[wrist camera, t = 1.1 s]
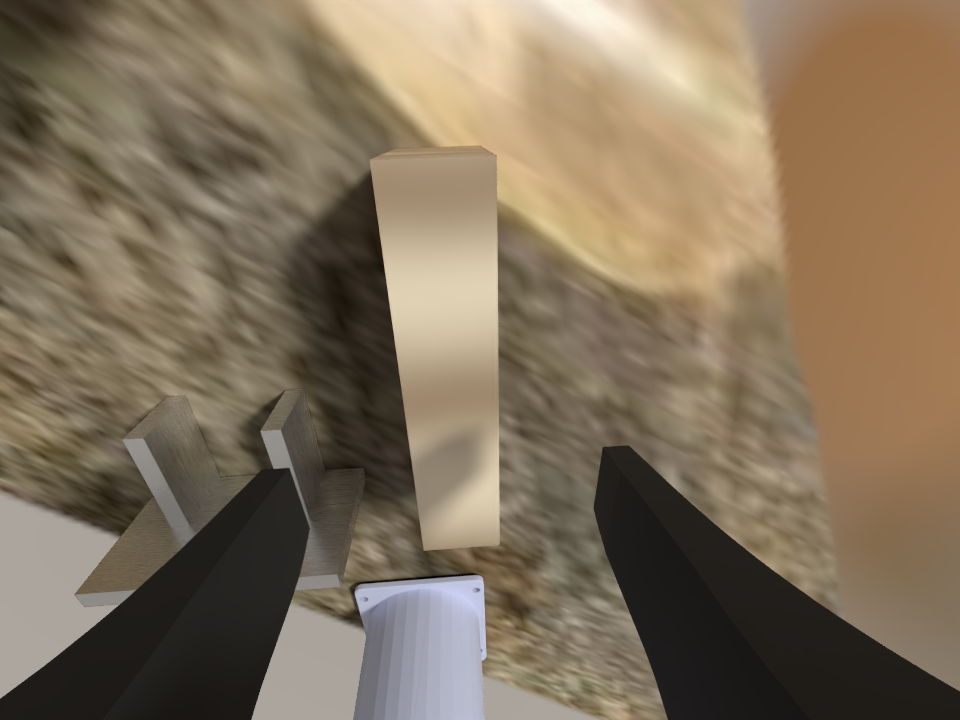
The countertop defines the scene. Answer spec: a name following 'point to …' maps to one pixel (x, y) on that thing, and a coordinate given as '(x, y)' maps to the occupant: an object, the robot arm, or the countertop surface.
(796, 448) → the countertop surface
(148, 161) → the countertop surface
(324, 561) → the bracket
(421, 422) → the rail
